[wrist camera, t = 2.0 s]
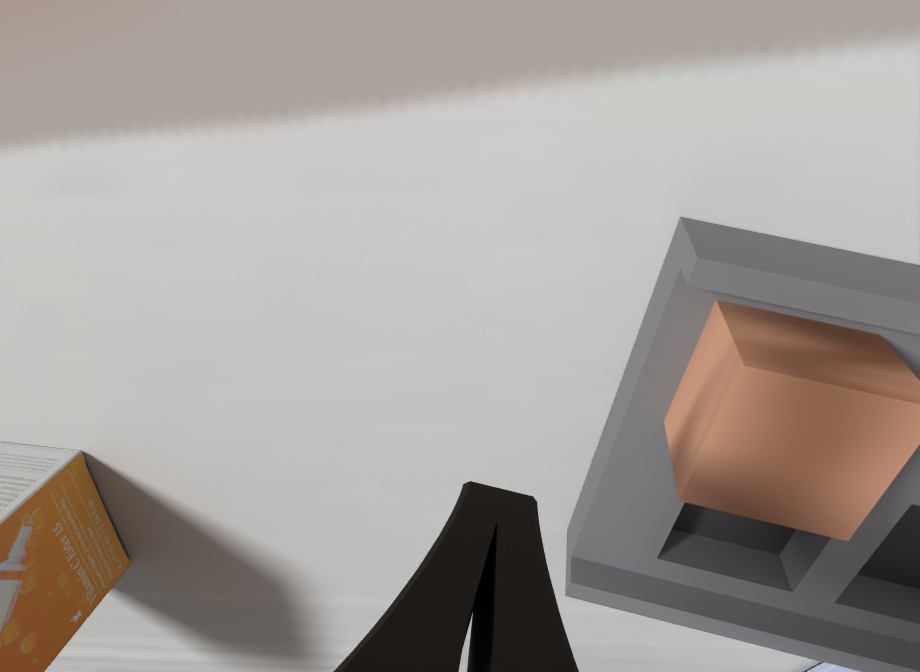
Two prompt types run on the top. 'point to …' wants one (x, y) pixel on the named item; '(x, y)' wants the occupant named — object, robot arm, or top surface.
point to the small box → (50, 553)
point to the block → (791, 420)
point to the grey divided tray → (738, 537)
